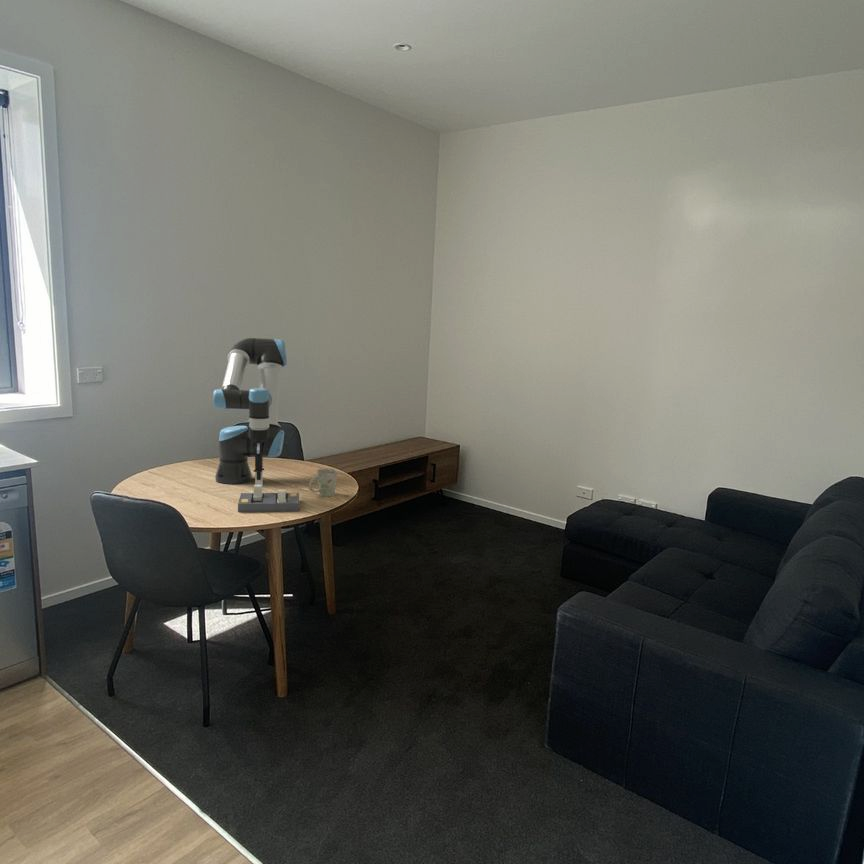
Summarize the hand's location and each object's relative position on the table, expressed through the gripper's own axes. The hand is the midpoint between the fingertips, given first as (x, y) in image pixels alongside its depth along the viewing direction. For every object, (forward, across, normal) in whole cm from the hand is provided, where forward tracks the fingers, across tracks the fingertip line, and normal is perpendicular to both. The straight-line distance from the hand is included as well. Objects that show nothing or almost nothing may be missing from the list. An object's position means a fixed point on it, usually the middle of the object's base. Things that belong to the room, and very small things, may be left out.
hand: (258, 487), depth 242 cm
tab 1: (+3, +7, 0) cm, 7 cm away
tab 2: (+3, +14, +9) cm, 17 cm away
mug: (+5, -3, +25) cm, 26 cm away
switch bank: (+5, +10, +4) cm, 12 cm away
